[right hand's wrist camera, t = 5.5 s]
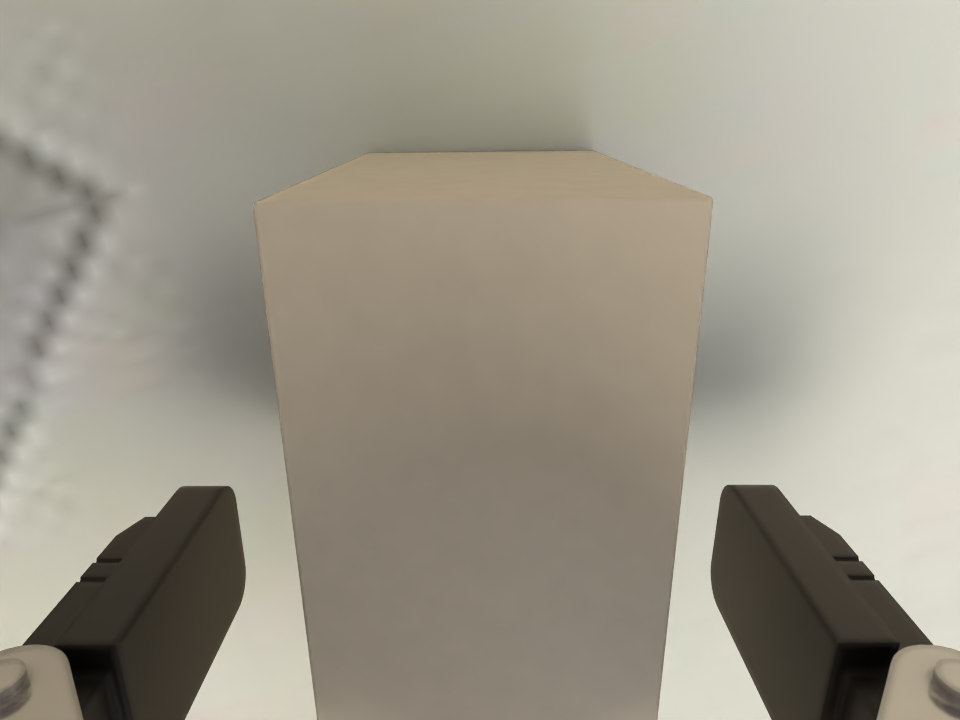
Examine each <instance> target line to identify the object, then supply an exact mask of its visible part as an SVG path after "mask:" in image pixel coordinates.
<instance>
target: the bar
mask: <svg viewBox="0 0 960 720" xmlns="http://www.w3.org/2000/svg"><path fill="white" fill-rule="evenodd" d="M712 207H713V200H712V198H711V197H709V196H706V195H704V194H701V193H699V192H696V191H694V190H691V189H689V188H686V187H683V186H681V185H678V184H676V183H673V182H671V181H668V180H666V179H663V178H661V177H658V176H656V175H653V174H651V173H648V172H645V171H643V170H640V169H638V168H635V167H633V166H630V165H628V164H625V163H623V162H620V161H618V160H615V159H613V158H610V157H607V156H605V155H602V154H600V153H597V152H595V151H509V152H418V153H367V154H364V155H362V156H360V157H357V158H355V159H353V160H351V161H348V162H346V163H344V164H342V165H339V166H337V167H335V168H332V169H330V170H328V171H326V172H323V173H321V174H319V175H316V176H314V177H312V178H310V179H307V180H305V181H303V182H301V183H298V184H296V185H294V186H291V187H289V188H287V189H285V190H282V191H280V192H278V193H275V194H273V195H271V196H269V197H266V198H264V199H262V200H260V201H257V202H255V203H254V206H253V210H254V218H255V226H256V234H257V242H258V250H259V258H260V266H261V274H262V282H263V290H264V298H265V306H266V314H267V322H268V330H269V338H270V346H271V354H272V362H273V370H274V378H275V386H276V394H277V402H278V410H279V418H280V426H281V434H282V442H283V450H284V458H285V466H286V474H287V482H288V490H289V498H290V506H291V514H292V522H293V530H294V538H295V546H296V554H297V562H298V570H299V578H300V586H301V594H302V602H303V610H304V618H305V626H306V634H307V642H308V650H309V658H310V666H311V674H312V682H313V690H314V698H315V706H316V714H317V720H657V717H658V708H659V699H660V690H661V680H662V671H663V662H664V652H665V643H666V634H667V625H668V615H669V606H670V597H671V588H672V578H673V569H674V560H675V550H676V541H677V532H678V523H679V513H680V504H681V495H682V485H683V476H684V467H685V458H686V448H687V439H688V430H689V421H690V411H691V402H692V393H693V383H694V374H695V365H696V356H697V346H698V337H699V328H700V318H701V309H702V300H703V291H704V281H705V272H706V263H707V254H708V244H709V235H710V226H711V216H712Z"/></svg>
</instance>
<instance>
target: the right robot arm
mask: <svg viewBox="0 0 960 720" xmlns="http://www.w3.org/2000/svg"><path fill="white" fill-rule="evenodd" d="M245 579H246V568H245V560H244V552H243V545H242V538H241V531H240V524H239V517H238V510H237V503H236V497H235V494H234V491H233V490H232V488H231V487H229V486H182V487H180V488H179V489H178V490H177V491H176V492H175V494H174V495H173V496H172V497H171V499H170V500H169V501H168V502H167V504H166V505H165V506H164V507H163V509H162V510H161V511H160V512H159V514H158V515H157V516H156V517H145V518H143V519H141V520H140V521H138V522H137V523H135V524H134V525H132V526H131V527H129V528H128V529H126V530H125V531H123V532H121V533H120V534H118V535H117V536H116V537H115V538H114V539H113V540H112V541H111V542H110V544H109V545H108V546H107V547H106V548H105V549H104V551H103V552H102V553H101V554H100V555H99V556H98V558H97V562H96V563H92V565H91V566H90V567H89V568H88V569H87V570H86V572H85V573H84V574H83V575H82V576H81V580H80V582H76V583H75V584H74V586H73V587H72V588H71V589H70V590H69V591H68V593H67V594H66V595H65V596H64V597H63V598H62V600H61V601H60V602H59V603H58V604H57V605H56V607H55V608H54V609H53V610H52V611H51V612H50V614H49V615H48V616H47V617H46V618H45V619H44V621H43V622H42V623H41V624H40V625H39V626H38V628H37V629H36V630H35V631H34V632H33V633H32V635H31V636H30V637H29V638H28V639H27V640H26V642H25V643H24V644H23V645H22V646H18V647H14V648H9V649H6V650H3V651H0V720H185V718H186V716H187V714H188V712H189V710H190V708H191V706H192V703H193V701H194V699H195V697H196V695H197V693H198V691H199V689H200V687H201V685H202V683H203V681H204V679H205V677H206V675H207V673H208V671H209V668H210V666H211V664H212V662H213V660H214V658H215V656H216V654H217V652H218V650H219V648H220V646H221V644H222V642H223V640H224V638H225V636H226V633H227V631H228V629H229V627H230V625H231V623H232V621H233V619H234V617H235V615H236V613H237V611H238V609H239V606H240V604H241V601H242V598H243V594H244V588H245ZM711 583H712V590H713V595H714V598H715V601H716V604H717V606H718V609H719V611H720V613H721V615H722V617H723V619H724V621H725V623H726V625H727V627H728V629H729V632H730V634H731V636H732V638H733V640H734V642H735V644H736V646H737V648H738V650H739V652H740V654H741V657H742V659H743V661H744V663H745V665H746V667H747V669H748V671H749V673H750V675H751V677H752V679H753V682H754V684H755V686H756V688H757V690H758V692H759V694H760V696H761V698H762V700H763V702H764V705H765V707H766V709H767V711H768V713H769V715H770V717H771V719H772V720H960V651H957V650H954V649H951V648H946V647H942V646H935V645H933V644H932V643H931V642H930V640H929V639H928V638H927V637H926V636H925V635H924V633H923V632H922V631H921V630H920V629H919V628H918V626H917V625H916V624H915V623H914V622H913V620H912V619H911V618H910V617H909V616H908V615H907V613H906V612H905V611H904V610H903V609H902V608H901V606H900V605H899V604H898V603H897V602H896V600H895V599H894V598H893V597H892V596H891V595H890V593H889V592H888V591H887V590H886V589H885V588H884V586H883V585H882V584H881V583H880V582H879V580H875V579H874V575H873V573H872V572H871V571H870V570H869V569H868V567H867V566H866V565H865V564H864V563H863V562H862V561H859V559H858V556H857V555H856V553H855V552H854V551H853V550H852V549H851V547H850V546H849V545H848V544H847V543H846V542H845V540H844V539H843V538H842V537H841V536H840V535H839V534H838V533H836V532H835V531H833V530H832V529H830V528H829V527H827V526H826V525H824V524H822V523H821V522H819V521H818V520H816V519H815V518H813V517H812V516H800V515H799V514H798V513H797V511H796V510H795V509H794V508H793V506H792V505H791V504H790V503H789V501H788V500H787V499H786V498H785V496H784V495H783V494H782V492H781V491H780V490H779V489H778V488H777V487H776V486H774V485H727V486H725V487H724V489H723V491H722V494H721V498H720V504H719V511H718V518H717V526H716V533H715V540H714V547H713V554H712V561H711Z"/></svg>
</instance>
